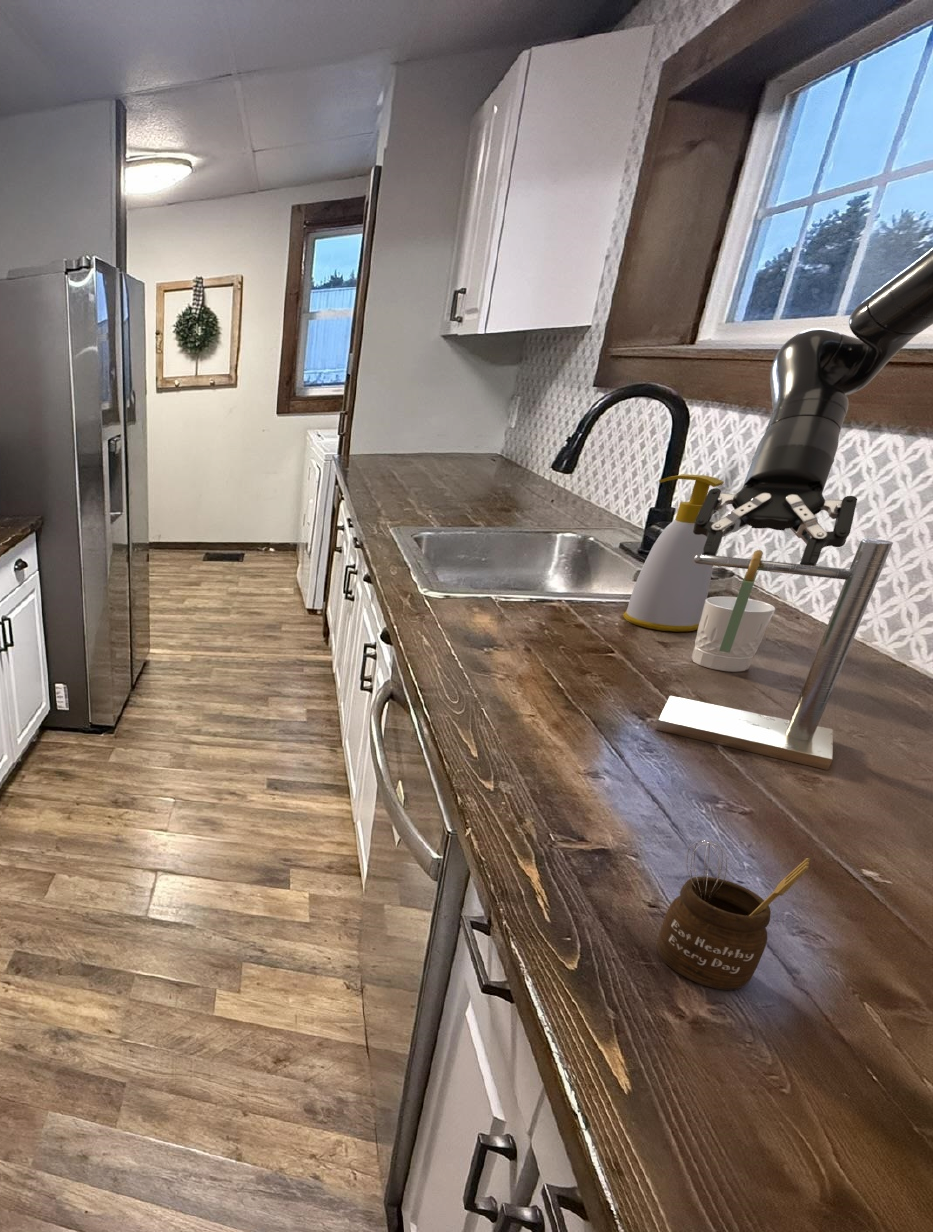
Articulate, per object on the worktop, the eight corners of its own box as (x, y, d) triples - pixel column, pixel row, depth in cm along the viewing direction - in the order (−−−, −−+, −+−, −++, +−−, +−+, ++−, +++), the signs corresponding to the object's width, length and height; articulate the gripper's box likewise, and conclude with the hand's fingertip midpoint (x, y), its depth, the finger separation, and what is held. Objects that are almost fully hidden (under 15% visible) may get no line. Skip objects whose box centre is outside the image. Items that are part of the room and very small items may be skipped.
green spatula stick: (718, 651, 89) (750, 557, 85) (724, 638, 93) (754, 548, 89) (729, 652, 89) (762, 559, 84) (734, 639, 93) (765, 549, 88)
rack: (639, 726, 96) (698, 534, 86) (652, 701, 102) (708, 520, 92) (828, 770, 84) (921, 553, 74) (829, 739, 90) (915, 536, 81)
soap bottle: (636, 609, 138) (675, 470, 128) (712, 624, 129) (761, 475, 119) (608, 621, 133) (647, 477, 123) (685, 637, 124) (734, 483, 114)
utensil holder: (660, 927, 63) (701, 812, 58) (758, 965, 58) (811, 844, 54) (646, 964, 59) (689, 844, 54) (750, 1008, 55) (806, 882, 50)
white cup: (758, 677, 108) (781, 614, 104) (690, 668, 112) (710, 607, 108) (747, 659, 114) (768, 599, 110) (683, 651, 118) (701, 593, 114)
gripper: (723, 440, 96) (685, 540, 93) (880, 444, 86) (844, 555, 83) (715, 476, 101) (679, 571, 98) (863, 483, 92) (828, 589, 89)
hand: (755, 564), depth 91 cm, fingers open, 8 cm apart
